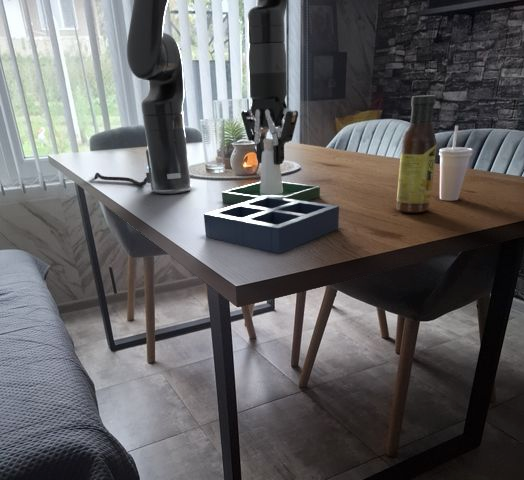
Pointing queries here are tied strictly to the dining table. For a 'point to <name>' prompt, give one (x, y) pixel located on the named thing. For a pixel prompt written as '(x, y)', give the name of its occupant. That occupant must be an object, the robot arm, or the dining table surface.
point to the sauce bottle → (417, 158)
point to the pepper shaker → (270, 171)
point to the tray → (253, 192)
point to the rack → (272, 223)
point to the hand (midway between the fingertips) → (270, 162)
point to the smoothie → (453, 169)
